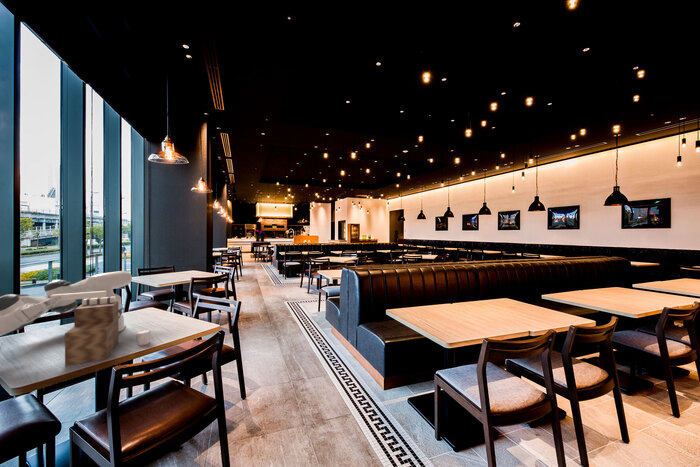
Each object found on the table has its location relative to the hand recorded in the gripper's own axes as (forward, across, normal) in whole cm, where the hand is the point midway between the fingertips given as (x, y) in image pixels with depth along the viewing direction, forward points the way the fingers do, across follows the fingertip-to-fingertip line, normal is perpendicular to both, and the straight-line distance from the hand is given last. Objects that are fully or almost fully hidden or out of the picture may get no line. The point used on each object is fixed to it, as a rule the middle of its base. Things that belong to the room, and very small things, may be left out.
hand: (61, 296), depth 150 cm
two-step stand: (-4, +4, -34) cm, 35 cm away
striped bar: (+9, -5, -13) cm, 16 cm away
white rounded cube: (+15, 0, -45) cm, 48 cm away
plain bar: (+5, 0, -5) cm, 7 cm away
